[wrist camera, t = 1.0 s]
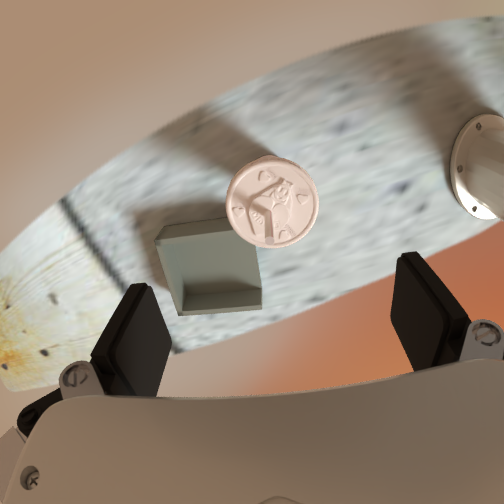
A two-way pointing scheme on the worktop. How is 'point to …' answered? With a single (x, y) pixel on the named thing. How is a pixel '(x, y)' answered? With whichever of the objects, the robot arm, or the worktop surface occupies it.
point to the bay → (209, 268)
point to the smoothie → (272, 202)
